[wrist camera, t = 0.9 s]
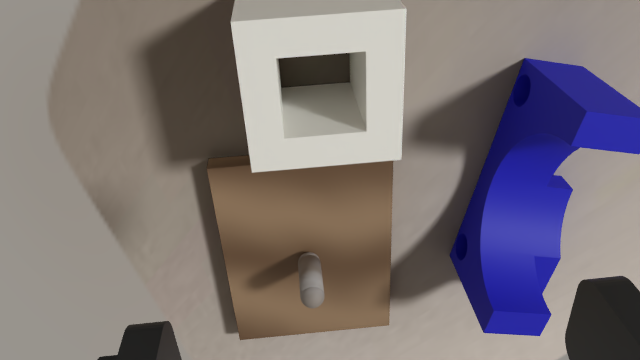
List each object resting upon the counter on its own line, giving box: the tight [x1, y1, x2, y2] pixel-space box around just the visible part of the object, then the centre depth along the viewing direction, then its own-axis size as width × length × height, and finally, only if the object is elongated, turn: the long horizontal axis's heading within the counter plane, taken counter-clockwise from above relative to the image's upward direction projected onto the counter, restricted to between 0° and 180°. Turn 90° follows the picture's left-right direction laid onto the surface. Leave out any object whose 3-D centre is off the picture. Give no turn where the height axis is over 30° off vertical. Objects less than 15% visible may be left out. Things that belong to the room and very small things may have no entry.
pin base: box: [207, 155, 393, 340], centre depth 28 cm, size 12×9×5 cm
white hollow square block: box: [231, 0, 406, 173], centre depth 22 cm, size 6×6×5 cm
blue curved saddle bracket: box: [450, 58, 640, 336], centre depth 26 cm, size 12×4×6 cm, turn 170°
